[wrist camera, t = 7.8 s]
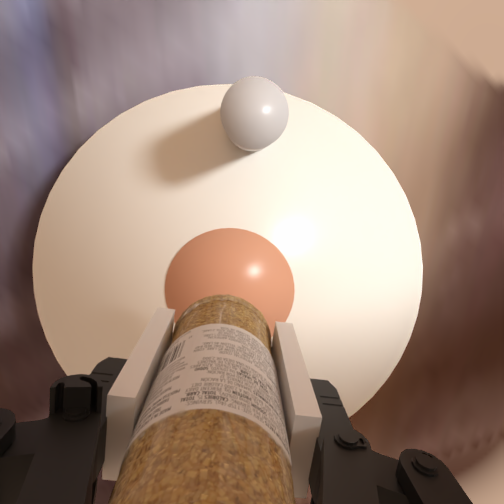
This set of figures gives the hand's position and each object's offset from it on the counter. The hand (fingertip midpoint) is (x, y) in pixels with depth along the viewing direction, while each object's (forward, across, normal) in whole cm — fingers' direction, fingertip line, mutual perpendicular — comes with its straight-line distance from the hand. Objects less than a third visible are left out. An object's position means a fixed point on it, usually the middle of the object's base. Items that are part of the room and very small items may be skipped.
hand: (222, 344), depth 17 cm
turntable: (+10, 0, 0) cm, 10 cm away
